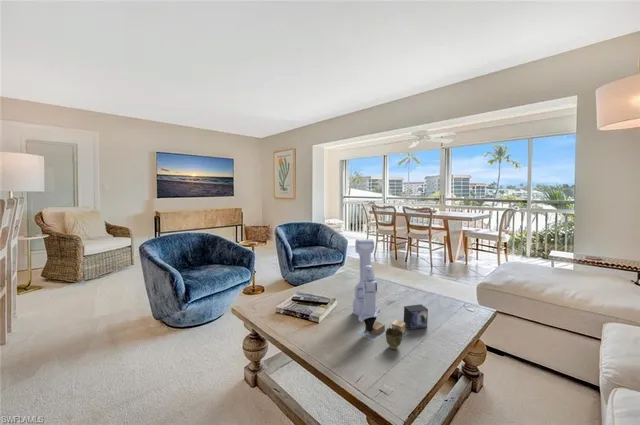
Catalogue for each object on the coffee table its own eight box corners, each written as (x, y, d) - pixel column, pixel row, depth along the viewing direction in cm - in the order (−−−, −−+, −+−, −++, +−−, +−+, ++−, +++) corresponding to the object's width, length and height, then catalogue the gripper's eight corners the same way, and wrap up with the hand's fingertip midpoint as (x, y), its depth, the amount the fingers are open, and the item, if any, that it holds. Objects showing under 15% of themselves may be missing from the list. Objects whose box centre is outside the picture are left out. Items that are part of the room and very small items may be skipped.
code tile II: (387, 332, 138) (387, 332, 138) (395, 327, 144) (395, 326, 144) (401, 339, 133) (401, 338, 133) (409, 333, 138) (409, 332, 138)
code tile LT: (355, 332, 139) (355, 332, 139) (368, 325, 146) (368, 324, 146) (373, 341, 131) (373, 341, 131) (386, 333, 138) (386, 332, 138)
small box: (409, 331, 140) (410, 311, 139) (402, 324, 146) (403, 305, 145) (427, 328, 142) (428, 309, 141) (420, 322, 149) (421, 303, 148)
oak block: (391, 333, 138) (391, 323, 137) (395, 328, 142) (395, 319, 141) (401, 336, 135) (401, 326, 134) (405, 332, 139) (405, 322, 138)
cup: (389, 341, 131) (389, 325, 130) (404, 347, 126) (405, 330, 125) (382, 348, 125) (382, 332, 124) (397, 355, 120) (398, 337, 119)
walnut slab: (365, 329, 141) (365, 324, 140) (373, 325, 145) (373, 319, 145) (376, 335, 136) (376, 329, 135) (384, 330, 140) (384, 324, 140)
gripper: (366, 311, 128) (366, 339, 130) (385, 302, 138) (384, 328, 139) (355, 306, 133) (355, 333, 135) (373, 298, 143) (373, 323, 145)
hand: (369, 330), depth 137 cm, fingers closed
